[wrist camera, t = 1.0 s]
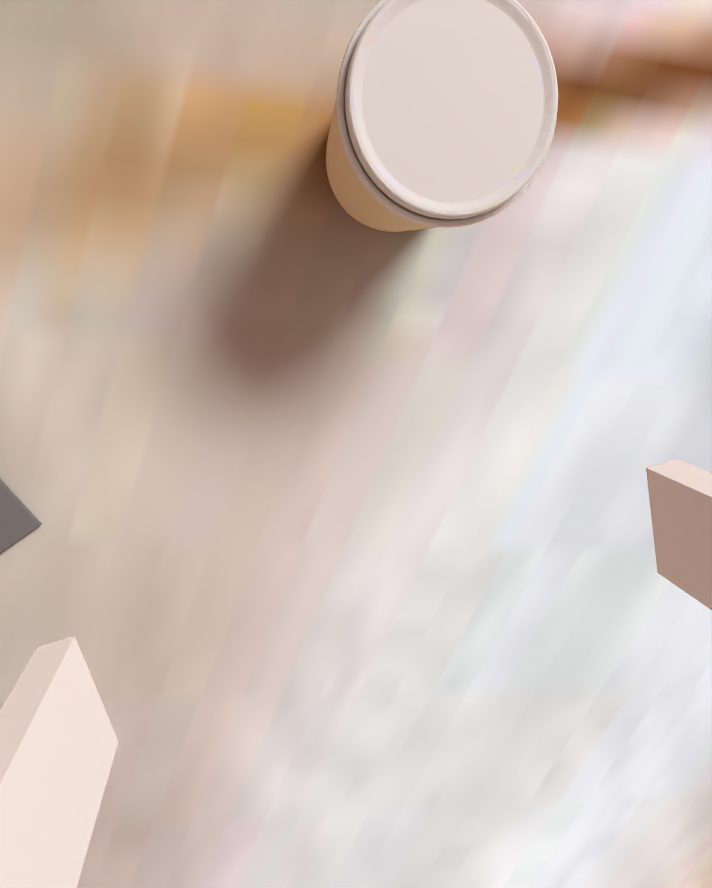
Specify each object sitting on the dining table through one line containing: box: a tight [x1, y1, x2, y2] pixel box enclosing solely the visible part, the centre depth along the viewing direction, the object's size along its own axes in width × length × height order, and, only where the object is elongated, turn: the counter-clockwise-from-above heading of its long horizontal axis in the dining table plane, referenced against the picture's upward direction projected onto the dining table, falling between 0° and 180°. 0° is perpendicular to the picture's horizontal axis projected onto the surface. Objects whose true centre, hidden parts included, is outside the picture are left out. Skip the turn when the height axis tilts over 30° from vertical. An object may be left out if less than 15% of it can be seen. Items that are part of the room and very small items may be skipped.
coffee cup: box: [326, 0, 558, 232], centre depth 30 cm, size 9×9×12 cm
